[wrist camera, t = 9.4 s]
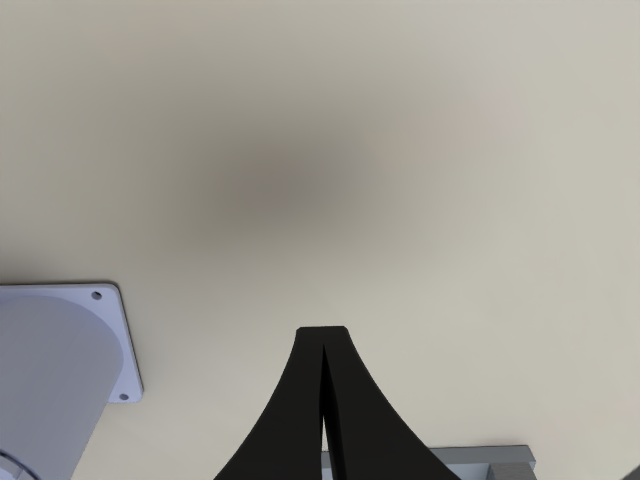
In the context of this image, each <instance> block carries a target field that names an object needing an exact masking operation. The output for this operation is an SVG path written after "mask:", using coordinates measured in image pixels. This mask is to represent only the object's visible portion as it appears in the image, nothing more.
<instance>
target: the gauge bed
mask: <svg viewBox="0 0 640 480" xmlns="http://www.w3.org/2000/svg"><path fill="white" fill-rule="evenodd" d="M430 450H431V451H432V452H433V453H434V454H435V455H436V456H437V457H438V458H439V459H440V460H441V461H442V462H443V463H444V464H445V465H446V466H447V467H448V468H449V469H450V470H451V471H452V472H454V473H455V474H456V475H457V476H458V477H459V478H460V479H462V480H485V479H486V475H487V471H488V467H489V463H509V462H529V464H530V466H531V468H532V470H534V467H535V464H536V460H535V458H534V456H533V454H532V452H531V450H530V448H529V446H499V447H467V448H435V449H430ZM321 463H322V480H333V478H332V471H331V464H330V457H329V452H322V453H321Z"/></svg>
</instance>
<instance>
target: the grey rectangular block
mask: <svg viewBox="0 0 640 480" xmlns="http://www.w3.org/2000/svg"><path fill="white" fill-rule="evenodd" d="M485 480H537V479H536V477H535V475H534V473H533V470H532V468H531V466H530V464H529V462H509V463H489V467H488V471H487V475H486V479H485Z"/></svg>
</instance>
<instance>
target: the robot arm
mask: <svg viewBox="0 0 640 480" xmlns="http://www.w3.org/2000/svg"><path fill="white" fill-rule="evenodd" d="M95 292H99V293H100V294H101V295H102V296H99V295H97V294H95ZM124 394H126V395H124ZM142 396H143V389H142V384H141V380H140V376H139V372H138V368H137V364H136V360H135V356H134V351H133V347H132V343H131V339H130V335H129V331H128V327H127V323H126V319H125V314H124V310H123V306H122V302H121V298H120V294H119V291H118V289H117V288H116V287H115V286H114V285H112V284H62V285H14V286H0V480H70V479H71V477H72V475H73V473H74V471H75V469H76V466H77V464H78V462H79V460H80V458H81V456H82V454H83V452H84V450H85V447H86V445H87V443H88V441H89V439H90V437H91V435H92V433H93V430H94V428H95V426H96V424H97V422H98V420H99V418H100V416H101V414H102V411H103V409H104V407H105V405H106V403H131V402H138V401H140V400H141V399H142ZM323 415H324V422H325V429H326V436H327V443H328V450H329V457H330V464H331V471H332V478H333V480H462V479H460V478H459V477H458V476H457V475H456V474H455V473H454V472H452V471H451V470H450V469H449V468H448V467H447V466H446V465H445V464H444V463H443V462H442V461H441V460H440V459H439V458H438V457H437V456H436V455H435V454H434V453H433V452H432V451H431V450H430V449H429V448H428V447H426V446H425V445H424V443H423V442H422V441H421V440H420V439H419V438H418V437H417V436H416V435H415V434H414V433H413V431H412V430H411V429H410V428H409V427H408V426H407V424H406V423H405V422H404V421H403V420H402V419H401V417H400V416H399V415H398V414H397V412H396V411H395V410H394V408H393V407H392V406H391V404H390V403H389V402H388V400H387V399H386V398H385V396H384V395H383V393H382V392H381V390H380V389H379V387H378V386H377V384H376V383H375V381H374V380H373V378H372V377H371V375H370V373H369V372H368V370H367V368H366V367H365V365H364V363H363V362H362V360H361V358H360V356H359V354H358V352H357V350H356V348H355V346H354V344H353V342H352V340H351V337H350V335H349V332H348V329H347V328H346V327H344V326H321V327H300V328H299V329H297V330H296V337H295V341H294V345H293V348H292V351H291V354H290V357H289V359H288V362H287V364H286V367H285V369H284V371H283V374H282V376H281V378H280V381H279V383H278V385H277V387H276V389H275V390H274V392H273V394H272V396H271V398H270V400H269V402H268V404H267V406H266V407H265V409H264V411H263V413H262V414H261V416H260V418H259V419H258V421H257V422H256V424H255V425H254V427H253V429H252V430H251V432H250V433H249V434H248V436H247V437H246V439H245V440H244V442H243V443H242V444H241V446H240V447H239V449H238V450H237V451H236V453H235V454H234V455H233V457H232V458H231V459H230V460H229V462H228V463H227V464H226V465H225V466H224V468H223V469H222V470H221V471H220V472H219V473H218V475H217V476H216V477H215V478H214V479H213V480H322V463H321V453H322V434H323Z"/></svg>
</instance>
